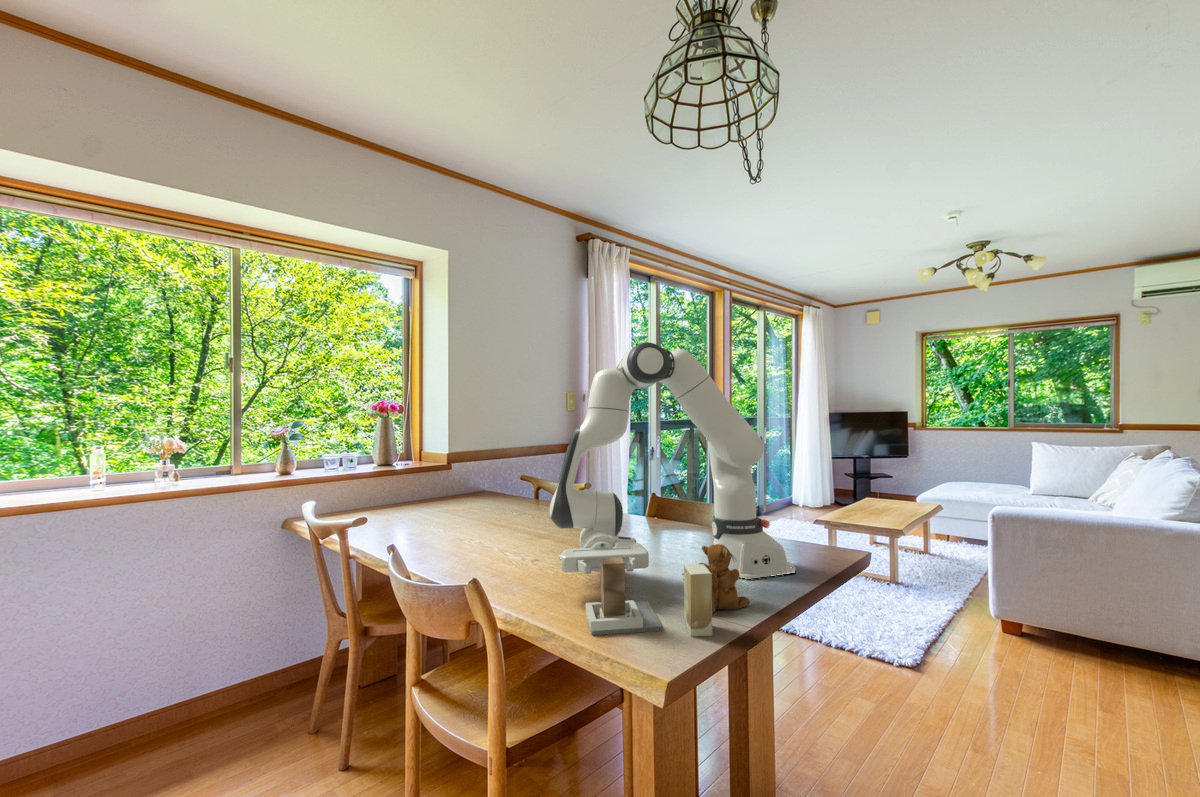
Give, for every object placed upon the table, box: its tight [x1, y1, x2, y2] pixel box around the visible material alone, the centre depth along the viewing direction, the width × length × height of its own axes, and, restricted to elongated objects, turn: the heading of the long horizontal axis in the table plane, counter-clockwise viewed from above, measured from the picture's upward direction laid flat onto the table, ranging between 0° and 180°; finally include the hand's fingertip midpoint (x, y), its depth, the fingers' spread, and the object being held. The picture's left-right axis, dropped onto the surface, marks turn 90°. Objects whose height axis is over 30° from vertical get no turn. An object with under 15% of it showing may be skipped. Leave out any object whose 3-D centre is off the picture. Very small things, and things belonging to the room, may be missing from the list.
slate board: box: [584, 599, 663, 636], centre depth 113 cm, size 14×14×3 cm
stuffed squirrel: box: [681, 544, 751, 613], centre depth 120 cm, size 10×14×13 cm
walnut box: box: [600, 557, 627, 619], centre depth 111 cm, size 5×5×12 cm
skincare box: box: [683, 563, 713, 638], centre depth 107 cm, size 6×4×12 cm
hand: (609, 569), depth 118 cm, fingers open, 8 cm apart
